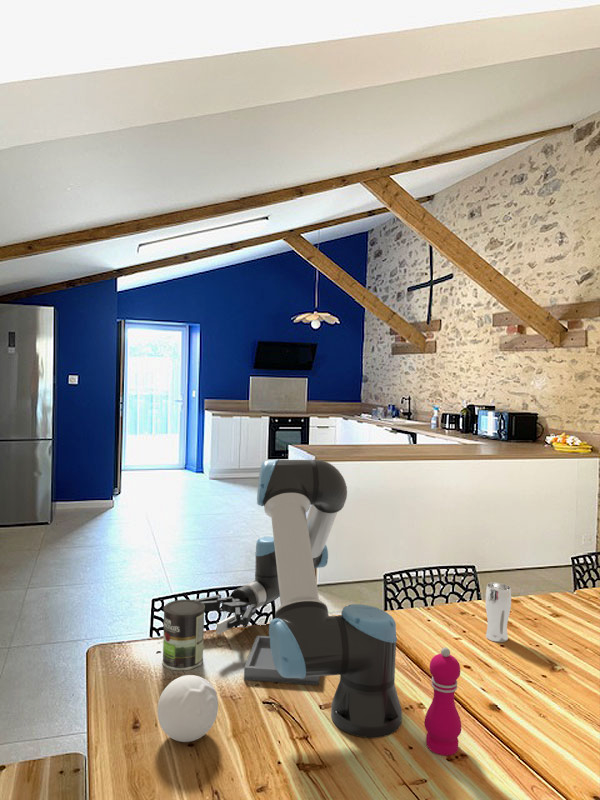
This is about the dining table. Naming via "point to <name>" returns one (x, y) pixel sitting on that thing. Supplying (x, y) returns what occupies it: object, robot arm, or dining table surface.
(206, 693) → the decorative ball
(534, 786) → the dining table surface
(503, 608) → the beer glass
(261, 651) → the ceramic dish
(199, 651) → the coffee can
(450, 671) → the pepper mill
